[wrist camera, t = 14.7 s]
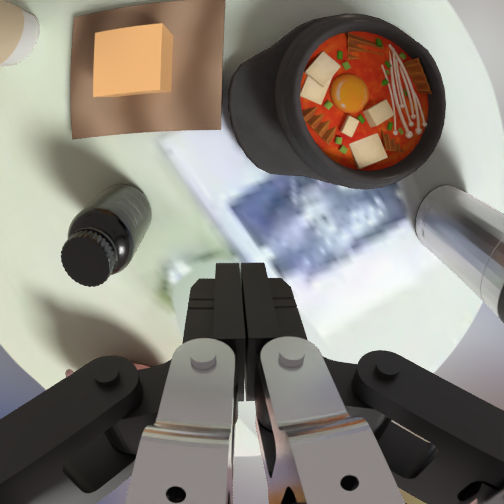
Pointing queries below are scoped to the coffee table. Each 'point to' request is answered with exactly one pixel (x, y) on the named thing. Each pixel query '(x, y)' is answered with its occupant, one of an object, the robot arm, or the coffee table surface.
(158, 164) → the coffee table surface
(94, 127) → the post stand
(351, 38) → the casserole
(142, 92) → the peach cube
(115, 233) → the supplement bottle
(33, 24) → the coffee cup
